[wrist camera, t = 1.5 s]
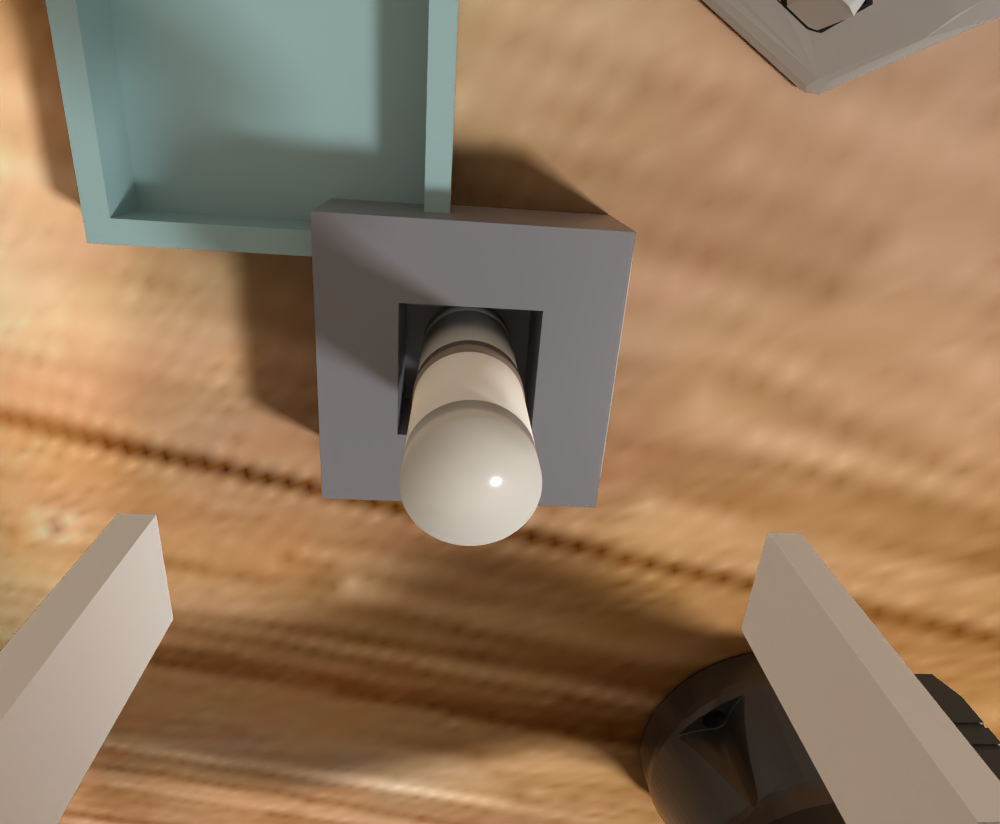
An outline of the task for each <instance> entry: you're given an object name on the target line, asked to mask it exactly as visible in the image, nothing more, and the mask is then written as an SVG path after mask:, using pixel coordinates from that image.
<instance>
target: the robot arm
mask: <svg viewBox="0 0 1000 824" xmlns="http://www.w3.org/2000/svg"><path fill="white" fill-rule="evenodd" d="M172 621H173V614H172V608H171V602H170V596H169V590H168V584H167V577H166V571H165V565H164V559H163V553H162V547H161V541H160V535H159V529H158V523H157V516H156V515H150V514H117V515H116V516H115V517H114V519H113V520H112V521H111V522H110V523H109V524H108V526H107V527H106V528H105V529H104V530H103V531H102V533H101V534H100V535H99V536H98V537H97V539H96V540H95V541H94V542H93V543H92V544H91V546H90V547H89V548H88V549H87V550H86V551H85V553H84V554H83V555H82V556H81V557H80V558H79V560H78V561H77V562H76V563H75V564H74V566H73V567H72V568H71V569H70V570H69V571H68V573H67V574H66V575H65V576H64V577H63V578H62V580H61V581H60V582H59V583H58V584H57V585H56V587H55V588H54V589H53V590H52V591H51V592H50V594H49V595H48V596H47V597H46V598H45V600H44V601H43V602H42V603H41V604H40V605H39V607H38V608H37V609H36V610H35V611H34V612H33V614H32V615H31V616H30V617H29V618H28V619H27V621H26V622H25V623H24V624H23V625H22V627H21V628H20V629H19V630H18V631H17V632H16V634H15V635H14V636H13V637H12V638H11V639H10V641H9V642H8V643H7V644H6V645H5V646H4V648H3V649H2V650H1V651H0V824H58V822H59V820H60V819H61V817H62V815H63V813H64V811H65V810H66V808H67V806H68V804H69V803H70V801H71V799H72V797H73V796H74V794H75V792H76V790H77V788H78V787H79V785H80V783H81V781H82V780H83V778H84V776H85V774H86V773H87V771H88V769H89V767H90V766H91V764H92V762H93V760H94V758H95V757H96V755H97V753H98V751H99V750H100V748H101V746H102V744H103V743H104V741H105V739H106V737H107V735H108V734H109V732H110V730H111V728H112V727H113V725H114V723H115V721H116V720H117V718H118V716H119V714H120V713H121V711H122V709H123V707H124V705H125V704H126V702H127V700H128V698H129V697H130V695H131V693H132V691H133V690H134V688H135V686H136V684H137V682H138V681H139V679H140V677H141V675H142V674H143V672H144V670H145V668H146V667H147V665H148V663H149V661H150V660H151V658H152V656H153V654H154V652H155V651H156V649H157V647H158V645H159V644H160V642H161V640H162V638H163V637H164V635H165V633H166V631H167V629H168V628H169V626H170V624H171V622H172ZM741 630H742V632H743V634H744V636H745V638H746V639H747V641H748V643H749V645H750V647H751V649H752V651H753V652H754V653H751V654H746V655H742V656H738V657H735V658H732V659H728V660H726V661H723V662H720V663H718V664H715V665H713V666H711V667H709V668H707V669H705V670H703V671H701V672H699V673H697V674H696V675H694V676H692V677H691V678H689V679H688V680H686V681H685V682H684V683H682V684H681V685H680V686H678V687H677V688H676V689H675V690H674V691H673V692H671V693H670V694H669V695H668V696H667V697H666V698H665V700H664V701H663V702H662V703H661V704H660V705H659V707H658V708H657V709H656V711H655V712H654V714H653V715H652V717H651V719H650V720H649V722H648V724H647V727H646V729H645V732H644V735H643V739H642V744H641V762H642V767H643V771H644V774H645V778H646V782H647V785H648V789H649V792H650V796H651V798H652V801H653V803H654V805H655V808H656V809H657V811H658V813H659V815H660V816H661V818H662V819H663V821H664V822H665V824H1000V741H999V740H998V739H997V738H996V737H995V735H994V734H993V733H992V732H991V731H990V730H989V728H985V727H984V725H983V724H984V723H983V721H982V720H981V719H980V718H979V717H978V716H977V714H976V713H975V712H974V711H973V710H972V708H971V707H970V706H969V705H968V704H967V703H966V701H965V700H964V699H963V698H962V697H961V696H960V695H958V694H957V693H956V692H955V691H953V690H952V689H951V688H949V687H948V686H947V685H945V684H944V683H943V682H941V681H940V680H939V679H937V678H936V677H935V676H933V675H932V674H913V672H912V671H911V670H910V669H909V667H908V666H907V665H906V664H905V662H904V661H903V660H902V659H901V657H900V656H899V655H898V654H897V653H896V651H895V650H894V649H893V648H892V646H891V645H890V644H889V643H888V641H887V640H886V639H885V638H884V636H883V635H882V634H881V633H880V631H879V630H878V629H877V628H876V626H875V625H874V624H873V623H872V621H871V620H870V619H869V618H868V616H867V615H866V614H865V613H864V611H863V610H862V609H861V608H860V606H859V605H858V604H857V603H856V601H855V600H854V599H853V598H852V597H851V595H850V594H849V593H848V592H847V590H846V589H845V588H844V587H843V585H842V584H841V583H840V582H839V580H838V579H837V578H836V577H835V575H834V574H833V573H832V572H831V570H830V569H829V568H828V567H827V565H826V564H825V563H824V562H823V560H822V559H821V558H820V557H819V555H818V554H817V553H816V552H815V550H814V549H813V548H812V547H811V545H810V544H809V543H808V542H807V541H806V539H805V538H804V537H803V536H802V534H798V533H768V534H767V537H766V541H765V545H764V548H763V552H762V555H761V559H760V563H759V566H758V570H757V573H756V577H755V581H754V584H753V588H752V591H751V595H750V599H749V602H748V606H747V609H746V613H745V617H744V620H743V624H742V627H741Z"/></svg>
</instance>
